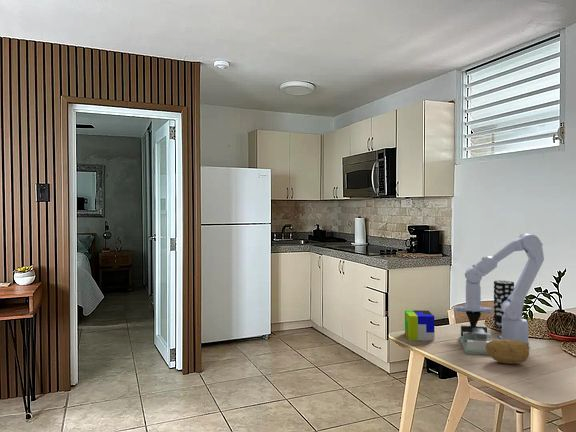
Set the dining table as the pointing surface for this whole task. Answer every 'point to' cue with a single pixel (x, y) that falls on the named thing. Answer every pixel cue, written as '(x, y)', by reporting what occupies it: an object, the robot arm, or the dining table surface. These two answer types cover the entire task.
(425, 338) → the puzzle toy
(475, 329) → the steel block
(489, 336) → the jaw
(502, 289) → the white-spotted black cylinder
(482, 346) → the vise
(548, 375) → the dining table surface
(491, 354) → the potato
